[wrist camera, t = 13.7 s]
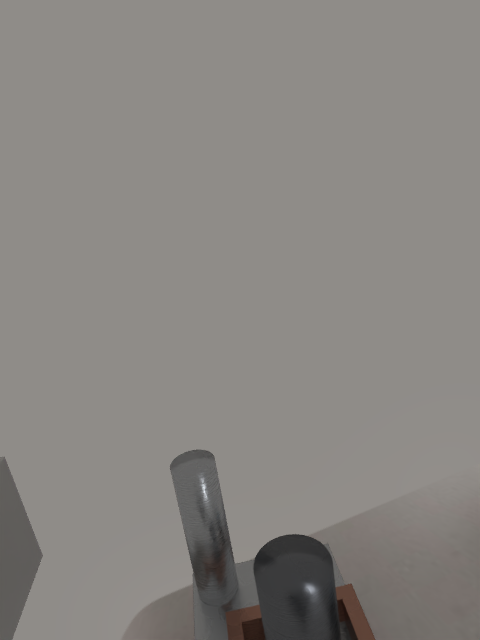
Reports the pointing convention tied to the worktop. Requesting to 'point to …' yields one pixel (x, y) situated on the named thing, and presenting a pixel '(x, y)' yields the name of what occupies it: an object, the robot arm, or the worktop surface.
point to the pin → (297, 590)
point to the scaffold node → (232, 563)
